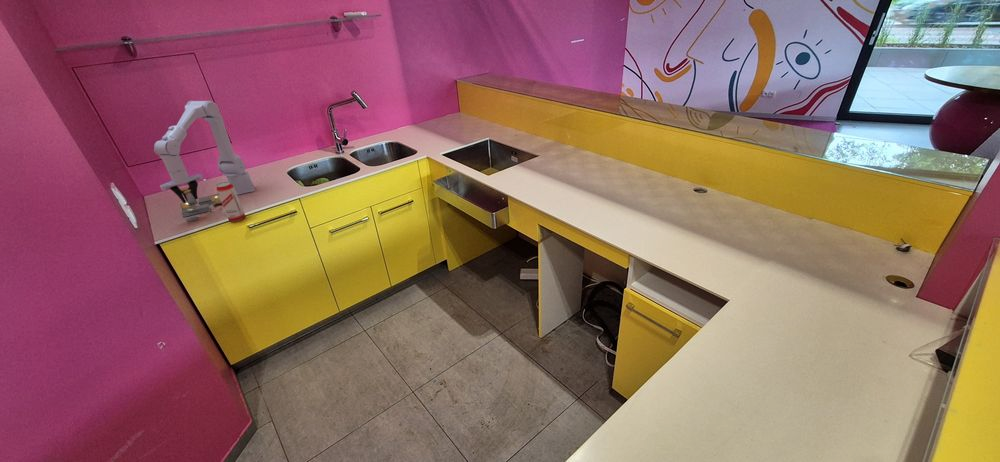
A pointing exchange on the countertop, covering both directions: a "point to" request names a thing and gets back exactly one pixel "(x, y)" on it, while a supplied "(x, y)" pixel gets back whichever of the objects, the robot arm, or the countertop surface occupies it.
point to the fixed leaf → (210, 200)
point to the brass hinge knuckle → (193, 209)
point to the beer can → (230, 201)
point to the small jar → (189, 196)
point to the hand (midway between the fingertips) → (190, 200)
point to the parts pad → (192, 219)
